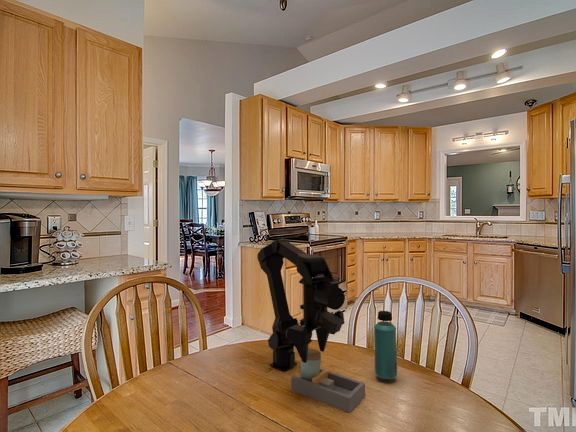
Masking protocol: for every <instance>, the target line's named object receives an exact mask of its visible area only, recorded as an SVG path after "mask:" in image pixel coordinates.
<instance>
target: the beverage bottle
mask: <svg viewBox="0 0 576 432" xmlns="http://www.w3.org/2000/svg"><path fill="white" fill-rule="evenodd" d="M377 320H379V321H378V322H376V323H375V324H374V326H373V327H374V344H373V345H374V373H375V375H376V376H377V377H379V378H380V379H384V380H394V379H395V378H396V377H397V375H398V359H397V358H398V356H397V353H398V352H397V327H396V326H395V325H394V323H392V322H390V321H392V320H393V316H392V312H391V311H387V310H379V311H378V312H377Z"/></svg>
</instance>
